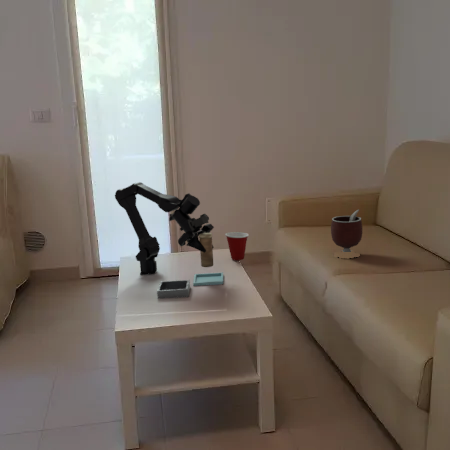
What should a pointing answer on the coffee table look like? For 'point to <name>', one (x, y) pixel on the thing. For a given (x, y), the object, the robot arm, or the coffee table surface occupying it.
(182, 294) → the holder
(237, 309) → the coffee table surface
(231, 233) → the plastic cup
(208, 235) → the canister
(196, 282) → the tray
